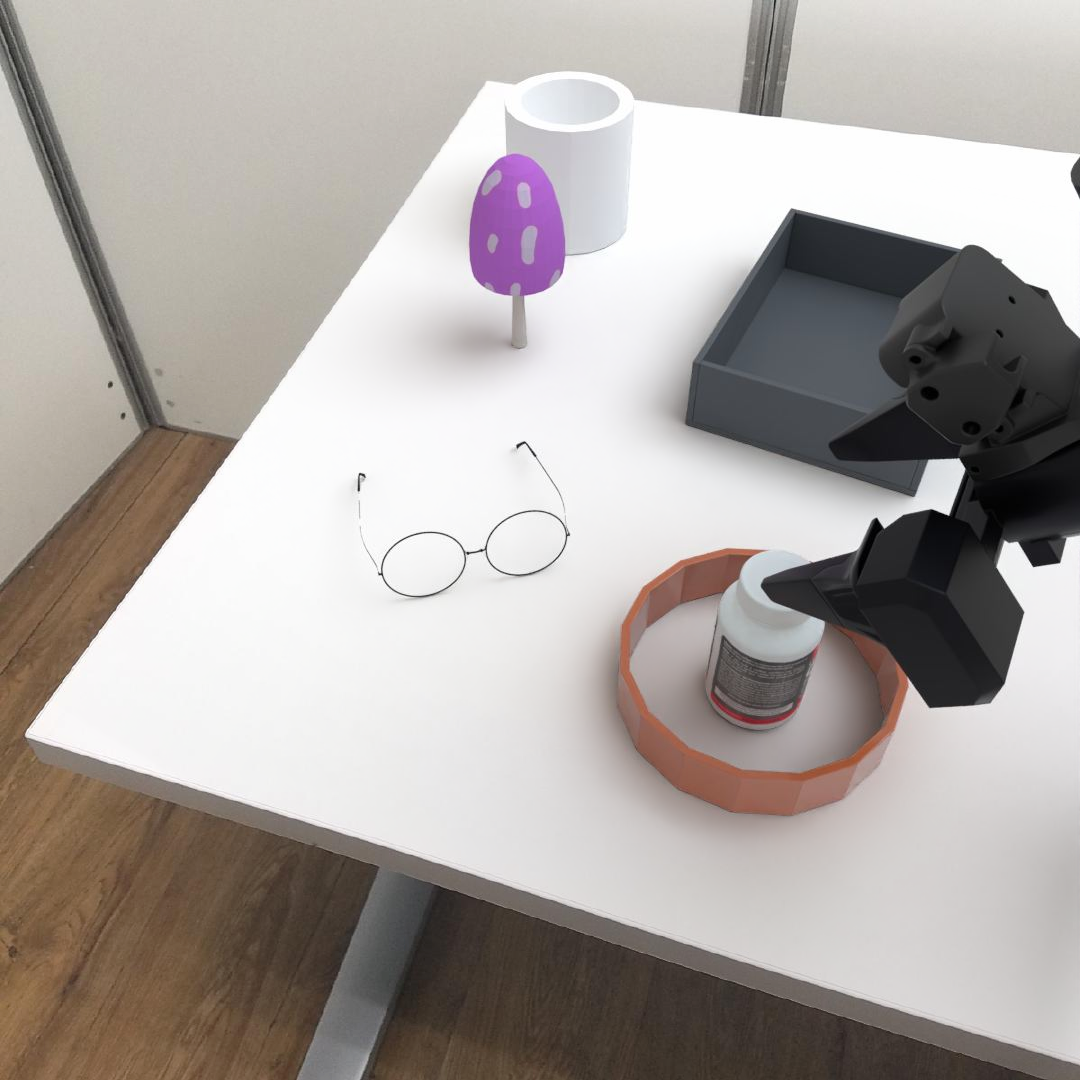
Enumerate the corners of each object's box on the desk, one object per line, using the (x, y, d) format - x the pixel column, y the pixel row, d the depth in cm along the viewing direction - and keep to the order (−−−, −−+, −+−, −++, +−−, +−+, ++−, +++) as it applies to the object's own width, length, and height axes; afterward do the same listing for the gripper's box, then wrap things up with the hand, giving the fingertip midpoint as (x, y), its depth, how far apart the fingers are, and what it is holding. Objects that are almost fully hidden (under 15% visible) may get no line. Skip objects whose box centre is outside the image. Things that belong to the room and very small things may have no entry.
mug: (541, 164, 98) (540, 47, 90) (649, 181, 96) (658, 63, 88) (492, 243, 89) (486, 121, 81) (609, 263, 87) (615, 140, 79)
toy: (463, 362, 79) (448, 175, 68) (491, 310, 83) (482, 126, 72) (549, 378, 77) (549, 191, 66) (574, 325, 82) (578, 140, 71)
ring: (919, 641, 61) (935, 603, 59) (847, 861, 53) (862, 829, 50) (676, 555, 66) (682, 516, 63) (573, 744, 57) (573, 708, 54)
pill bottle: (817, 721, 58) (855, 610, 51) (723, 742, 57) (749, 632, 50) (779, 643, 61) (809, 529, 54) (690, 662, 61) (709, 548, 53)
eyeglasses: (348, 478, 71) (337, 422, 67) (531, 444, 73) (531, 387, 69) (376, 607, 63) (365, 552, 60) (578, 564, 66) (580, 509, 62)
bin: (980, 320, 82) (1003, 258, 78) (914, 497, 69) (937, 434, 65) (779, 268, 86) (791, 207, 82) (684, 424, 74) (692, 361, 70)
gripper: (1138, 96, 38) (777, 256, 49) (1037, 421, 27) (607, 529, 39) (1247, 340, 42) (891, 436, 53) (1197, 705, 31) (766, 727, 43)
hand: (801, 516), depth 47 cm, fingers open, 9 cm apart
